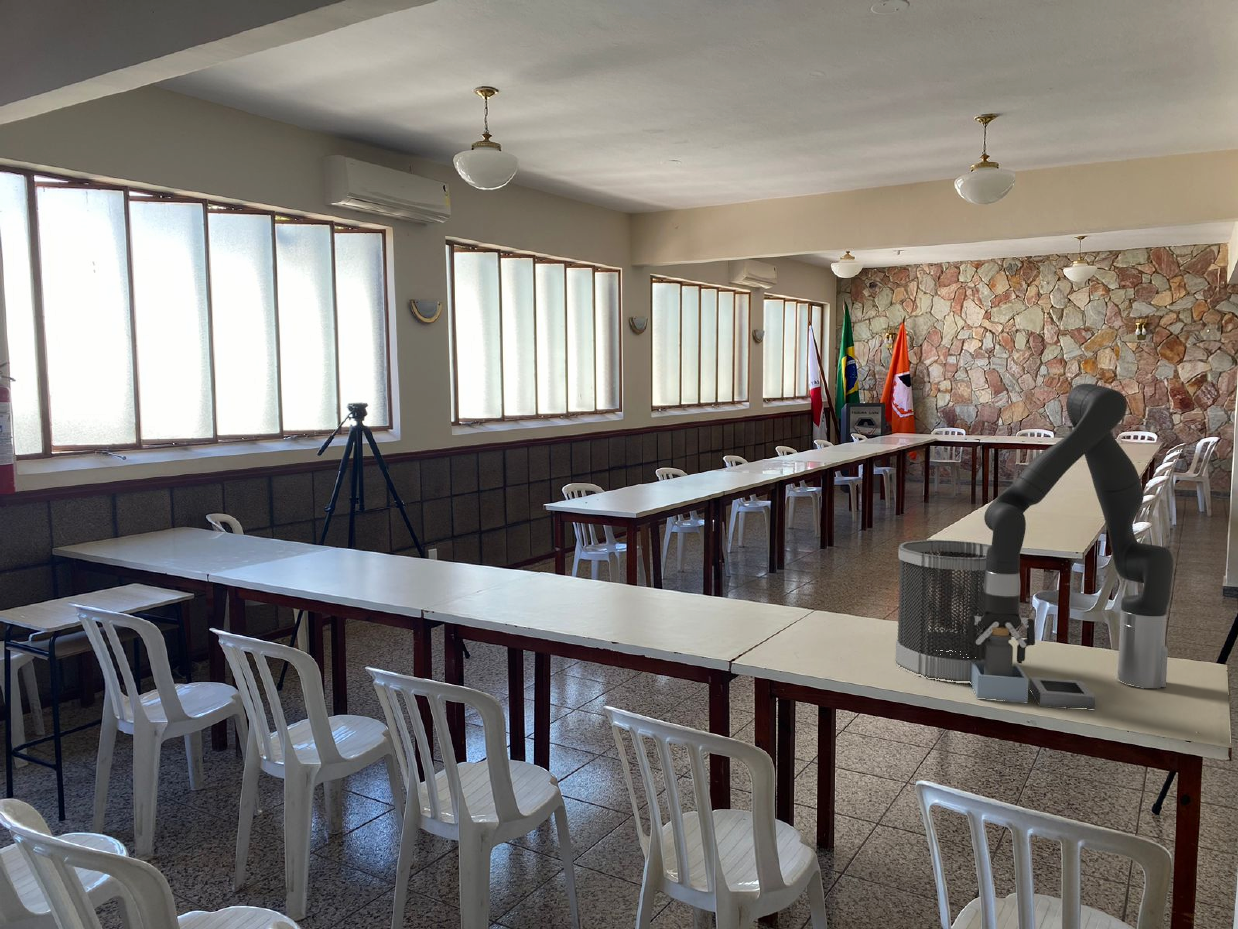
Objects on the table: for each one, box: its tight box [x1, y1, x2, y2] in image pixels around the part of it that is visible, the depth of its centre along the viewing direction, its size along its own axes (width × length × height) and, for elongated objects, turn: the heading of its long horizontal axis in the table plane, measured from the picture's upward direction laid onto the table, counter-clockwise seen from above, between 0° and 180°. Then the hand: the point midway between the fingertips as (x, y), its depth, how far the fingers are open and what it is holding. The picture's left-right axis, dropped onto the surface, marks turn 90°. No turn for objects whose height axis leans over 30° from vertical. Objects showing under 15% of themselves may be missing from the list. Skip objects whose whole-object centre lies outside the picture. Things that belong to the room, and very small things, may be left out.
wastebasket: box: [895, 539, 992, 681], centre depth 220 cm, size 25×25×30 cm
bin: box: [970, 662, 1029, 703], centre depth 201 cm, size 10×10×6 cm
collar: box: [1028, 676, 1097, 710], centre depth 197 cm, size 11×11×3 cm
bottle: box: [984, 627, 1014, 677], centre depth 200 cm, size 6×6×15 cm
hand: (999, 661), depth 201 cm, fingers open, 8 cm apart
